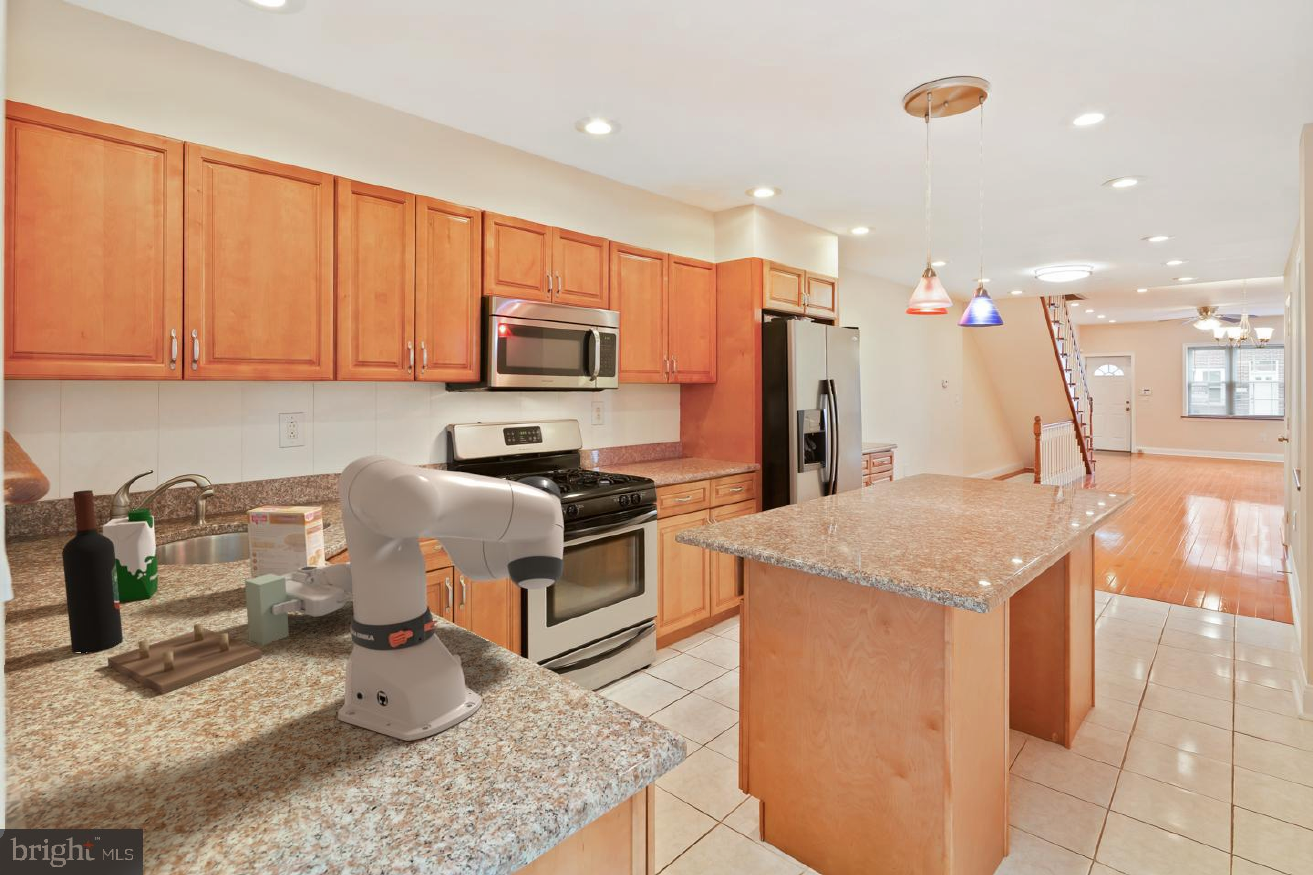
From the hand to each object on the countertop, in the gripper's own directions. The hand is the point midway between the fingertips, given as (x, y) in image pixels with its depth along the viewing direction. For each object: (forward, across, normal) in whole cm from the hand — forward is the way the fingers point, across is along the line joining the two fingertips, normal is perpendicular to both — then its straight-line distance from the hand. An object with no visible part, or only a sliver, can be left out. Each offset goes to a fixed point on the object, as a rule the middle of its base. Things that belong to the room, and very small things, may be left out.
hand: (262, 607), depth 132 cm
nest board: (+13, +2, -7) cm, 15 cm away
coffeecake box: (-20, +25, -7) cm, 33 cm away
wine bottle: (+18, +25, -7) cm, 31 cm away
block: (-1, 0, -7) cm, 7 cm away
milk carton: (+2, +50, -7) cm, 51 cm away
